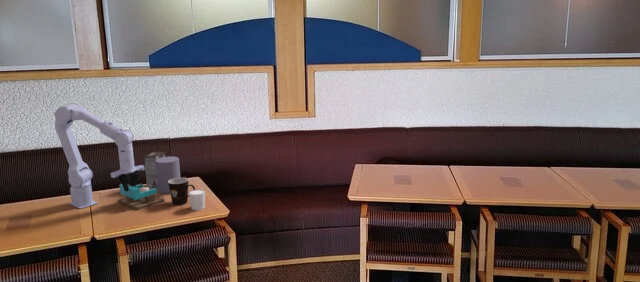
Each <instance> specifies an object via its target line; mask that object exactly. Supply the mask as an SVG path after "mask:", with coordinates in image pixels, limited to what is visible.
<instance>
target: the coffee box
mask: <svg viewBox="0 0 640 282" xmlns="http://www.w3.org/2000/svg"><path fill="white" fill-rule="evenodd" d="M162 157H166V152H165V151H152V152H150V153H148V154H146V155H144V156H143V161H144V162H143V163H144V169H145V170H144V171H145V178H146V187H148V188H149V190H151V189H154V188H156V189H157V190H158V180H157V170H156V159H158V158H162Z"/></svg>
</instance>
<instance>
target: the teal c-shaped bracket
mask: <svg viewBox="0 0 640 282" xmlns="http://www.w3.org/2000/svg"><path fill="white" fill-rule="evenodd" d="M142 187H144V184H143V183H139V184H136V187H134V186H131V184H128V191H124V188H123V185H122V183H120V184H119V193H120V195H122V196H124V197H126V196H127V197H129V198H132V199H134V200H137V199H140V198H143V197H147V196H150V195H153V194H155V195H156V194H158V189H156V188H154V189H149V190H148V191H145V192H141V193H140V189H139V188H142Z"/></svg>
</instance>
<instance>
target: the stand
mask: <svg viewBox="0 0 640 282" xmlns="http://www.w3.org/2000/svg"><path fill="white" fill-rule="evenodd" d="M139 189H140V193H141V192H145V191H148V190H150V189H149V188H148V187H147V186H145V187H144V186H143V187H142V188H139ZM164 202H165V199H164V198H162V197H159V196H156V194H153V195H150V196H147V197H143V198H140V199H137V200H134V199H132V198H129V197H127V196H124V197H122V198H118V199H117V203H118V204H121V205H124V206H126V207H128V208H131V209H133V210H136V211H140V210H143V209H146V208H149V207H153V206H155V205H158V204H161V203H164Z"/></svg>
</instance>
